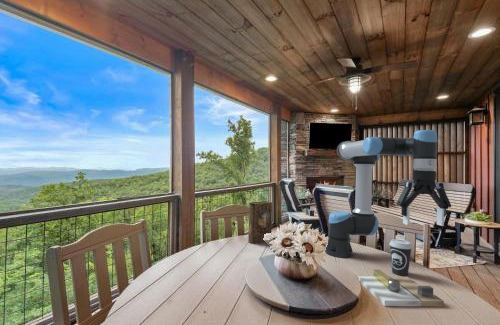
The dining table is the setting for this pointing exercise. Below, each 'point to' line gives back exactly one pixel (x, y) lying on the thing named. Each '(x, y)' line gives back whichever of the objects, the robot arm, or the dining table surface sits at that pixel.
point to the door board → (401, 292)
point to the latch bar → (387, 281)
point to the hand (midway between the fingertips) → (423, 224)
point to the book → (259, 221)
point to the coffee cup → (400, 256)
